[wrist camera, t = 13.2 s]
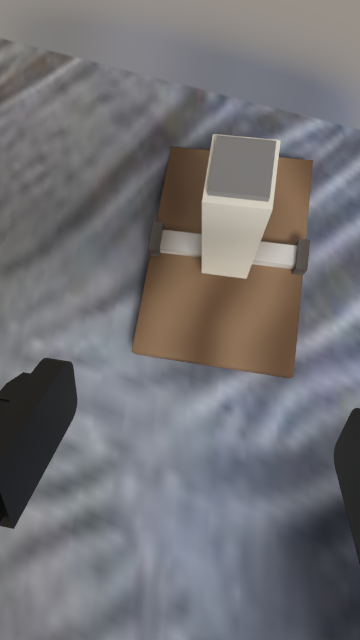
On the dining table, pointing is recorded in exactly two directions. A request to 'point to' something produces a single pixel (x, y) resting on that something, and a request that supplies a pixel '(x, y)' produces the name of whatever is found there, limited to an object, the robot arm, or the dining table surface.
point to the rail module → (237, 202)
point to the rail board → (224, 278)
